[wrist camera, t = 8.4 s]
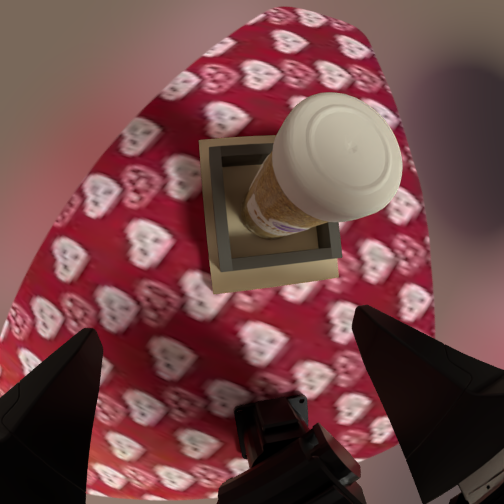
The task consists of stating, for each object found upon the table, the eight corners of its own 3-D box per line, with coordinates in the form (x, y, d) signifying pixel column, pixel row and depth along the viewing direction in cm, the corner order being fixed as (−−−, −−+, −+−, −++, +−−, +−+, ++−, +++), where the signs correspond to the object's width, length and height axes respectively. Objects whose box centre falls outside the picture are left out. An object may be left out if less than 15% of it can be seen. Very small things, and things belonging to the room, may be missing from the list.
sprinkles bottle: (242, 242, 21) (292, 218, 8) (238, 182, 21) (276, 81, 8) (301, 238, 22) (416, 215, 8) (296, 180, 22) (392, 98, 9)
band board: (332, 276, 23) (352, 279, 20) (213, 292, 22) (213, 299, 18) (314, 140, 23) (329, 123, 20) (199, 145, 22) (197, 126, 18)
